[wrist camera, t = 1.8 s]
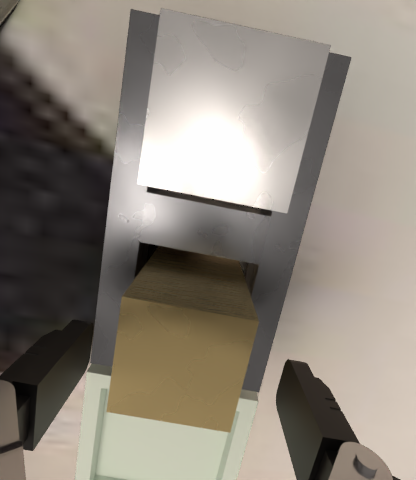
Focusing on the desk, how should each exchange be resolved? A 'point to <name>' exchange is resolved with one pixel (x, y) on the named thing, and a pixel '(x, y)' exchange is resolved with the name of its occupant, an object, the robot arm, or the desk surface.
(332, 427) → the robot arm
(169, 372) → the golden yellow block
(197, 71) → the grey upright block
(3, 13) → the caliper
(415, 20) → the desk surface
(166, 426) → the parts tray
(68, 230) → the desk surface
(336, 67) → the grey metal frame
